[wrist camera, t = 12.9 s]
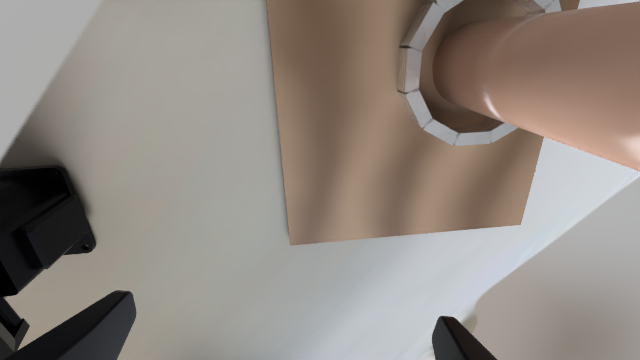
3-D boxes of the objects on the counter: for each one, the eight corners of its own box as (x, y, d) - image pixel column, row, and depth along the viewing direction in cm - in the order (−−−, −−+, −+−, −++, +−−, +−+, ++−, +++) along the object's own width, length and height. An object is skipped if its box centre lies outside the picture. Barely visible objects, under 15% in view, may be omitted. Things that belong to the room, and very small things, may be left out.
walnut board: (290, 239, 24) (290, 245, 23) (262, -46, 16) (261, -50, 16) (513, 219, 25) (520, 224, 24) (581, -54, 17) (594, -58, 17)
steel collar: (393, 142, 20) (400, 149, 19) (402, -22, 17) (413, -28, 15) (525, 133, 21) (541, 140, 20) (563, -27, 17) (587, -33, 16)
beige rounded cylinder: (455, 120, 20) (654, 211, 9) (417, 60, 18) (607, 83, 7) (521, 70, 19) (829, 105, 8) (488, 1, 17) (822, -69, 7)
